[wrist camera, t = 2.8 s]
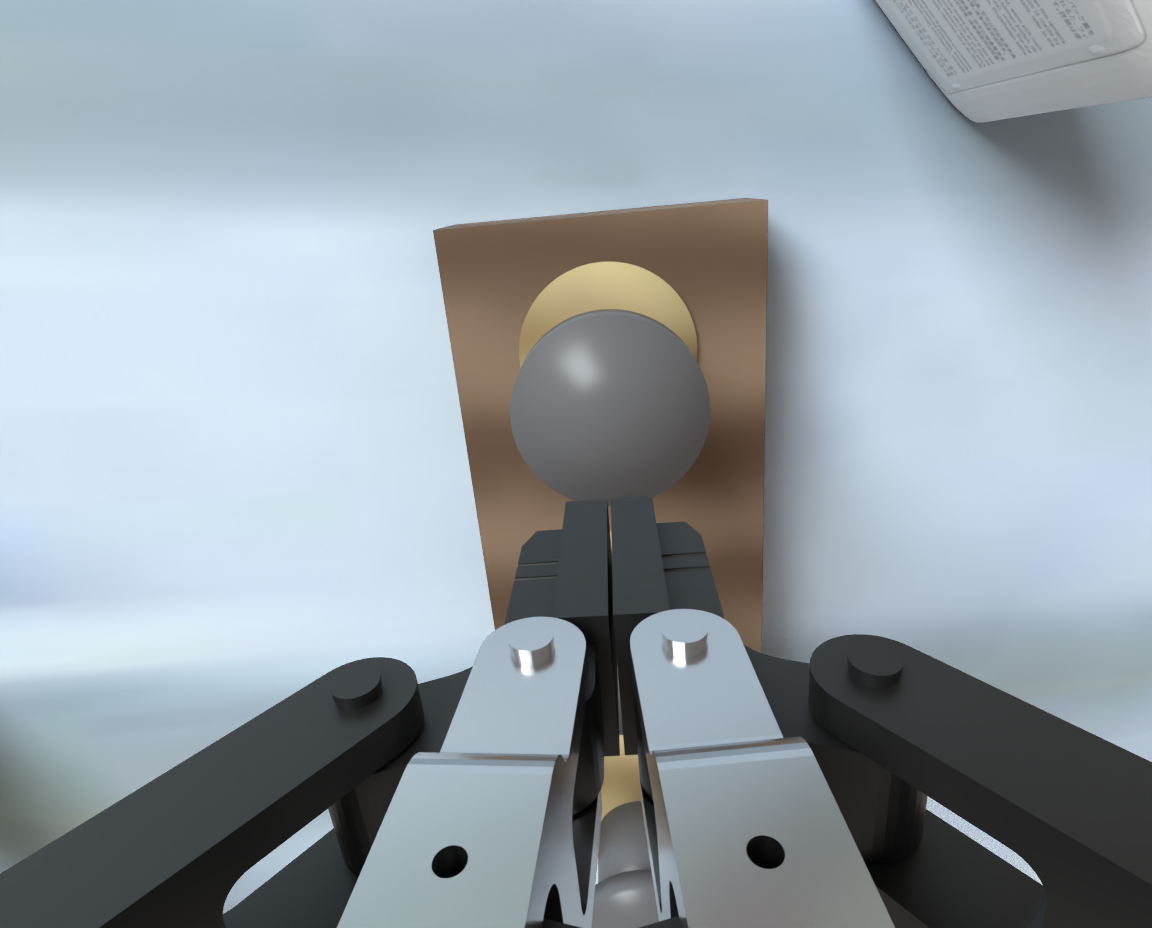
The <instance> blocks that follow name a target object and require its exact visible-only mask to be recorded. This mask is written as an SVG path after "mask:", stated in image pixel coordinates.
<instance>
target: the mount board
mask: <svg viewBox="0 0 1152 928" xmlns="http://www.w3.org/2000/svg"><path fill="white" fill-rule="evenodd" d="M433 233H434V239H435V246H436V252H437V259H438V265H439V272H440V278H441V284H442V291H443V297H444V304H445V310H446V317H447V323H448V330H449V336H450V342H451V349H452V355H453V362H454V368H455V375H456V381H457V388H458V394H459V400H460V407H461V413H462V420H463V426H464V433H465V439H466V446H467V452H468V458H469V465H470V471H471V478H472V484H473V491H474V497H475V504H476V510H477V516H478V523H479V529H480V536H481V542H482V549H483V555H484V562H485V568H486V574H487V581H488V587H489V594H490V600H491V607H492V613H493V620H494V626H495V630H497V629H498V628H500V627H502V626H504V624H505V619H506V615H507V610H508V606H509V601H510V597H511V592H512V588H513V583H514V581H515V575H516V570H517V567H518V561H519V557H520V552H521V548H522V546H523V545H524V544H525V543H526V542H527V541H528V540H529V539H530V538H531V537H532V536H533V535H534V534H535V533H536V532H537V531H542V530H558V529H562V528H563V520H564V511H565V503H566V502H567V501H575V500H572V499H569V498H567V497H565V496H563V495H561V494H559V493H557V492H556V491H554V490H553V489H551V488H550V487H548V486H547V485H546V484H544V483H543V482H542V481H541V480H540V479H539V478H538V477H537V476H536V475H535V474H534V473H533V472H532V471H531V469H530V468H529V467H528V465H527V464H526V462H525V461H524V460H523V458H522V456H521V454H520V452H519V450H518V448H517V446H516V443H515V440H514V437H513V433H512V428H511V422H510V402H511V395H512V391H513V386H514V383H515V381H516V378H517V375H518V373H519V370H520V368H521V366H522V364H523V362H524V360H525V358H526V356H527V354H528V353H529V352H530V350H531V349H532V347H533V346H534V345H535V343H536V342H537V341H538V340H539V339H540V338H541V337H542V336H543V335H544V334H545V333H547V332H548V331H549V330H550V329H552V328H553V327H554V326H556V325H557V324H559V323H561V322H562V321H564V320H566V319H568V318H571V317H573V316H575V315H578V314H581V313H585V312H588V311H594V310H601V309H620V310H628V311H632V312H636V313H640V314H643V315H646V316H648V317H651V318H653V319H655V320H657V321H658V322H660V323H662V324H664V325H665V326H667V327H668V328H669V329H670V330H672V331H673V332H674V333H675V334H676V335H677V336H678V337H679V338H680V339H681V340H682V341H683V342H684V343H685V344H686V346H687V347H688V348H689V350H690V351H691V352H692V354H693V356H694V358H695V360H696V361H697V363H698V365H699V367H700V369H701V371H702V373H703V375H704V378H705V381H706V383H707V387H708V392H709V396H710V407H711V411H710V424H709V429H708V434H707V437H706V440H705V443H704V446H703V448H702V450H701V452H700V454H699V456H698V457H697V459H696V460H695V462H694V463H693V465H692V466H691V468H690V469H689V470H688V471H687V472H686V473H685V475H684V476H683V477H682V478H681V479H679V480H678V481H677V482H676V483H675V484H674V485H672V486H671V487H670V488H668V489H667V490H665V491H664V492H662V493H660V494H658V495H656V496H654V497H652V498H653V505H654V511H655V518H656V523H668V522H684V521H685V522H686V523H687V524H689V525H690V526H691V527H692V528H693V529H695V530H696V531H697V532H698V533H699V534H701V536H702V539H703V543H704V546H705V550H706V555H707V557H708V561H709V564H710V570H711V572H712V575H713V579H714V582H715V586H716V590H717V593H718V597H719V600H720V604H721V607H722V611H723V615H724V618H725V620H726V621H728V622H729V623H730V624H732V626H733V627H734V628H735V629H736V630H737V632H738V634H739V635H740V638H741V640H742V642H743V644H744V645H745V646H747V647H749V648H751V649H752V650H755V651H757V652H759V653H761V649H762V580H763V510H764V441H765V372H766V302H767V233H768V200H764V199H751V198H742V199H731V200H720V201H709V202H698V203H687V204H676V205H665V206H654V207H643V208H632V209H621V210H611V211H600V212H589V213H578V214H567V215H556V216H545V217H534V218H523V219H512V220H501V221H490V222H479V223H468V224H458V225H452V226H448V227H444V228H440V229H436V230H433ZM608 512H609V524H610V537H611V506H608ZM611 550H612V537H611ZM619 739H620V756H604V782H603V785H602V788H601V796H602V817H601V821H602V819H603V818H604V817H605V815H606V814H607V813H608V812H610V811H611V810H612V809H614V808H616V807H617V806H620V805H622V804H625V803H629V802H635V801H641V788H640V775H639V762H638V755H625V752H624V740H623V735H619Z"/></svg>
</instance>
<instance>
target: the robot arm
mask: <svg viewBox="0 0 1152 928" xmlns="http://www.w3.org/2000/svg"><path fill="white" fill-rule="evenodd" d="M611 537H612V550H611ZM611 537H610V524H609V512H608V502H607V499H598V500H583V501H567V502H566V503H565V511H564V520H563V528H562V529H558V530H542V531H537V532H536V533H535V534H534V535H533V536H532V537H531V538H530V539H529V540H528V541H527V542H526V543H525V544H524V545H523V546H522V548H521V552H520V557H519V561H518V567H517V570H516V575H515V581H514V583H513V588H512V592H511V597H510V601H509V606H508V610H507V615H506V619H505V624H504V626H502V627H500V628H498V629H497V630H495V631H494V632H492V633H491V634H490V635H489V636H488V637H487V638H486V639H485V640H484V642H483V643H482V645H481V647H480V649H479V652H478V654H477V657H476V660H475V662H474V665H473V666H472V667H471V668H469V669H466V670H464V671H462V672H459V673H456V674H453V675H450V676H447V677H443V678H439V679H436V680H432V681H428V682H425V683H421V684H418V683H417V679H416V675H415V673H414V671H413V670H412V668H411V667H410V666H408V665H407V664H406V663H404V662H402V661H400V660H396V659H392V658H384V657H378V658H367V659H362V660H357V661H354V662H351V663H348V664H345V665H342V666H340V667H338V668H336V669H334V670H332V671H330V672H328V673H327V674H325V675H324V676H322V677H320V678H319V679H317V680H315V681H314V682H312V683H311V684H309V685H307V686H306V687H304V688H302V689H301V690H299V691H297V692H296V693H294V694H293V695H291V696H289V697H288V698H286V699H284V700H283V701H281V702H280V703H278V704H276V705H275V706H273V707H271V708H270V709H268V710H267V711H265V712H263V713H262V714H260V715H258V716H257V717H255V718H254V719H252V720H250V721H249V722H247V723H245V724H244V725H242V726H241V727H239V728H237V729H236V730H234V731H232V732H231V733H229V734H227V735H226V736H224V737H223V738H221V739H219V740H218V741H216V742H214V743H213V744H211V745H210V746H208V747H206V748H205V749H203V750H201V751H200V752H198V753H197V754H195V755H193V756H192V757H190V758H188V759H187V760H185V761H184V762H182V763H180V764H179V765H177V766H175V767H174V768H172V769H171V770H169V771H167V772H166V773H164V774H162V775H161V776H159V777H157V778H156V779H154V780H153V781H151V782H149V783H148V784H146V785H144V786H143V787H141V788H140V789H138V790H136V791H135V792H133V793H131V794H130V795H128V796H127V797H125V798H123V799H122V800H120V801H118V802H117V803H115V804H114V805H112V806H110V807H109V808H107V809H105V810H104V811H102V812H101V813H99V814H97V815H96V816H94V817H92V818H91V819H89V820H87V821H86V822H84V823H83V824H81V825H79V826H78V827H76V828H74V829H73V830H71V831H70V832H68V833H66V834H65V835H63V836H61V837H60V838H58V839H57V840H55V841H53V842H52V843H50V844H48V845H47V846H45V847H44V848H42V849H40V850H39V851H37V852H35V853H34V854H32V855H31V856H29V857H27V858H26V859H24V860H22V861H21V862H19V863H17V864H16V865H14V866H13V867H11V868H9V869H8V870H6V871H4V872H3V873H1V874H0V928H591V926H592V915H593V904H594V893H595V882H596V872H597V861H598V850H599V839H600V828H601V817H602V796H601V788H602V785H603V782H604V756H620V739H619V704H618V679H619V691H620V703H621V715H622V727H623V740H624V752H625V755H638V762H639V775H640V788H641V802H642V812H643V818H644V825H645V831H646V838H647V845H648V851H649V858H650V864H651V871H652V877H653V884H654V891H655V897H656V904H657V910H658V917H659V922H656V923H653V924H649V925H646V926H642V927H639V928H1152V762H1150V761H1148V760H1146V759H1144V758H1142V757H1139V756H1137V755H1135V754H1133V753H1131V752H1129V751H1127V750H1125V749H1123V748H1121V747H1119V746H1116V745H1114V744H1112V743H1110V742H1108V741H1106V740H1104V739H1102V738H1100V737H1098V736H1096V735H1093V734H1091V733H1089V732H1087V731H1085V730H1083V729H1081V728H1079V727H1077V726H1075V725H1073V724H1070V723H1068V722H1066V721H1064V720H1062V719H1060V718H1058V717H1056V716H1054V715H1052V714H1050V713H1047V712H1045V711H1043V710H1041V709H1039V708H1037V707H1035V706H1033V705H1031V704H1029V703H1027V702H1024V701H1022V700H1020V699H1018V698H1016V697H1014V696H1012V695H1010V694H1008V693H1006V692H1004V691H1001V690H999V689H997V688H995V687H993V686H991V685H989V684H987V683H985V682H983V681H981V680H978V679H976V678H974V677H972V676H970V675H968V674H966V673H964V672H962V671H960V670H958V669H955V668H953V667H951V666H949V665H947V664H945V663H943V662H941V661H939V660H937V659H935V658H932V657H930V656H928V655H926V654H924V653H922V652H920V651H918V650H916V649H914V648H912V647H909V646H907V645H905V644H903V643H900V642H898V641H895V640H891V639H888V638H884V637H879V636H873V635H845V636H840V637H836V638H833V639H830V640H828V641H826V642H824V643H822V644H821V645H820V646H818V647H817V648H816V649H815V651H814V652H813V654H812V656H811V659H810V664H809V663H803V662H797V661H791V660H785V659H780V658H775V657H771V656H768V655H765V654H762V653H759V652H757V651H755V650H752V649H751V648H749V647H747V646H745V645H744V644H743V642H742V640H741V638H740V635H739V634H738V632H737V630H736V629H735V628H734V627H733V626H732V624H730V623H729V622H728V621H726V620H725V618H724V615H723V611H722V607H721V604H720V600H719V597H718V593H717V590H716V586H715V582H714V579H713V575H712V572H711V570H710V564H709V561H708V557H707V555H706V550H705V546H704V543H703V539H702V536H701V534H699V533H698V532H697V531H696V530H695V529H693V528H692V527H691V526H690V525H689V524H687V523H686V522H685V521H684V522H668V523H656V518H655V511H654V505H653V498H652V496H642V497H627V498H611ZM617 666H618V670H617ZM927 796H929V797H930V798H932V799H933V800H935V801H936V802H938V803H940V804H941V805H943V806H944V807H946V808H947V809H949V810H951V811H952V812H954V813H955V814H957V815H958V816H960V817H962V818H963V819H965V820H966V821H968V822H969V823H971V824H972V825H974V826H976V827H977V828H979V829H980V830H982V831H983V832H985V833H987V834H988V835H990V836H991V837H993V838H994V839H996V840H998V841H999V842H1001V843H1002V844H1004V845H1005V846H1007V847H1008V848H1010V849H1011V850H1013V851H1014V852H1016V853H1017V854H1018V855H1019V856H1020V857H1022V858H1023V859H1024V860H1025V861H1026V862H1027V863H1028V864H1029V865H1030V866H1031V868H1032V869H1033V870H1034V871H1035V873H1036V874H1037V876H1038V877H1039V879H1040V880H1041V882H1042V884H1043V885H1041V884H1040V883H1038V882H1036V881H1035V880H1033V879H1032V878H1030V877H1029V876H1027V875H1026V874H1024V873H1023V872H1021V871H1020V870H1018V869H1017V868H1015V867H1014V866H1012V865H1011V864H1009V863H1007V862H1006V861H1004V860H1003V859H1001V858H1000V857H998V856H997V855H995V854H994V853H992V852H991V851H989V850H988V849H986V848H985V847H983V846H982V845H980V844H979V843H977V842H975V841H974V840H972V839H971V838H969V837H968V836H966V835H965V834H963V833H962V832H960V831H959V830H957V829H956V828H954V827H953V826H951V825H950V824H948V823H946V822H945V821H943V820H942V819H940V818H939V817H937V816H936V815H934V814H933V813H931V812H930V811H928V810H927V809H926V803H927ZM326 809H329V813H330V816H331V819H332V823H333V826H334V828H333V829H332V830H331V831H330V832H328V833H327V834H326V835H325V836H323V837H322V838H321V839H320V840H318V841H317V842H316V843H315V844H313V845H312V846H311V847H310V848H308V849H307V850H306V851H305V852H303V853H302V854H301V855H299V856H298V857H297V858H296V859H294V860H293V861H292V862H291V863H289V864H288V865H287V866H286V867H284V868H283V869H282V870H281V871H279V872H278V873H277V874H276V875H274V876H273V877H272V878H270V879H269V880H268V881H267V882H265V883H264V884H263V885H262V886H260V887H259V888H258V889H257V890H255V891H254V892H253V893H252V894H250V895H249V896H248V897H247V898H245V899H244V900H243V901H241V902H240V903H239V904H238V905H236V906H235V907H234V908H232V909H231V910H230V911H228V912H226V913H224V914H223V906H224V903H225V900H226V898H227V896H228V894H229V892H230V890H231V888H232V887H233V885H234V884H235V883H236V881H237V880H238V879H239V878H240V877H241V876H242V875H243V874H244V873H245V872H246V871H247V870H248V869H250V868H251V867H252V866H253V865H255V864H256V863H257V862H259V861H260V860H261V859H262V858H264V857H265V856H266V855H268V854H269V853H270V852H272V851H273V850H274V849H276V848H277V847H278V846H279V845H281V844H282V843H283V842H285V841H286V840H287V839H289V838H290V837H291V836H292V835H294V834H295V833H296V832H298V831H299V830H300V829H302V828H303V827H304V826H306V825H307V824H308V823H309V822H311V821H312V820H313V819H315V818H316V817H317V816H319V815H320V814H321V813H323V812H324V811H325V810H326Z"/></svg>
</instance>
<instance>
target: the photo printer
mask: <svg viewBox="0 0 1152 928" xmlns="http://www.w3.org/2000/svg"><path fill="white" fill-rule="evenodd" d="M876 2H877V3H878V5H879V6H880V8H881V9H882V11H883V12H884V13H885V15H886V16H887V17H888V19H889V20H890V22H891V23H892V24H893V26H894V27H895V28H896V30H897V31H898V33H899V34H900V36H901V37H902V38H903V40H904V41H905V43H906V44H907V45H908V47H909V48H910V49H911V51H912V52H913V54H914V55H915V56H916V58H917V59H918V61H919V62H920V63H921V65H922V66H923V67H924V68H925V69H926V71H927V73H928V75H929V76H930V77H931V78H932V79H933V81H934V82H935V83H936V84H937V86H938V87H939V88H940V89H941V91H942V92H943V93H944V94H945V96H946V97H947V98H948V99H949V100H950V102H951V103H952V104H953V105H954V106H955V107H956V108H957V109H958V110H959V111H960V112H961V113H962V114H963V115H965V116H966V117H967V118H969V119H970V120H972V121H973V122H977V123H983V122H990V121H996V120H1003V119H1009V118H1015V117H1021V116H1029V115H1035V114H1041V113H1048V112H1054V111H1061V110H1068V109H1074V108H1081V107H1088V106H1095V105H1102V104H1108V103H1116V102H1122V101H1129V100H1135V99H1144V98H1150V97H1152V0H876Z"/></svg>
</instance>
